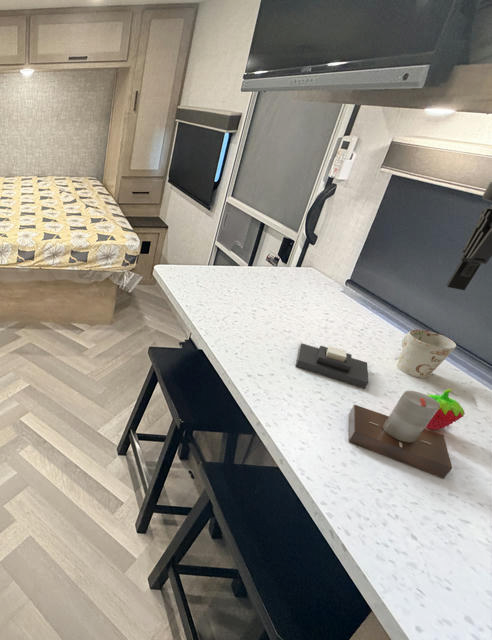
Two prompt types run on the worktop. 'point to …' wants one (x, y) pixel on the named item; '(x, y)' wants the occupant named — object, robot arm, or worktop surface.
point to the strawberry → (445, 411)
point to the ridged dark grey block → (332, 366)
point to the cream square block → (336, 353)
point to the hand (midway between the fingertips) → (455, 287)
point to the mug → (423, 352)
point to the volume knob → (410, 416)
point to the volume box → (399, 443)
